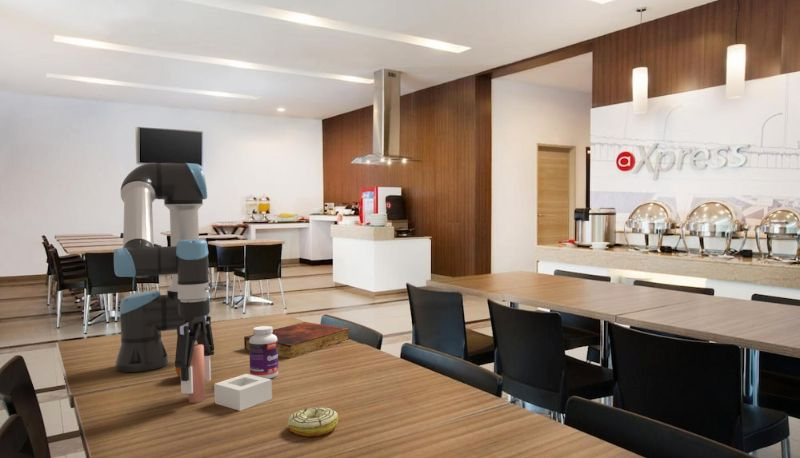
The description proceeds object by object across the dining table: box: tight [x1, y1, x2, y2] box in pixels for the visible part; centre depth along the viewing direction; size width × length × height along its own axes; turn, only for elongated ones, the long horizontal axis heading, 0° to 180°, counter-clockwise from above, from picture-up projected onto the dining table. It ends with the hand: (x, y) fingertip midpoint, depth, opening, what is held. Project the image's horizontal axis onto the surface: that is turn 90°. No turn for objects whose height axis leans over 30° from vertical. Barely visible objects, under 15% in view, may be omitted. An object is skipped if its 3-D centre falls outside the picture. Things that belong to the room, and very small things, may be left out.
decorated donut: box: [287, 406, 339, 438], centre depth 120 cm, size 10×11×4 cm
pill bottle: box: [248, 325, 279, 379], centre depth 159 cm, size 8×8×14 cm
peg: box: [188, 343, 206, 404], centre depth 140 cm, size 4×4×14 cm
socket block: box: [213, 373, 273, 412], centre depth 139 cm, size 10×10×5 cm
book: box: [243, 321, 351, 359], centre depth 198 cm, size 30×24×5 cm
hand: (196, 386), depth 140 cm, fingers open, 9 cm apart
